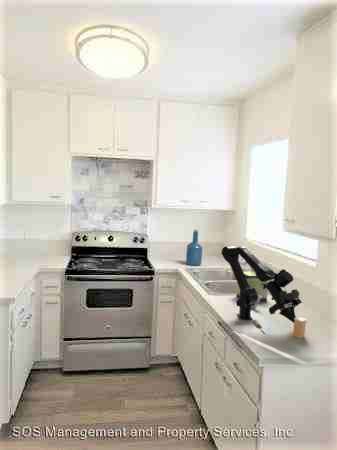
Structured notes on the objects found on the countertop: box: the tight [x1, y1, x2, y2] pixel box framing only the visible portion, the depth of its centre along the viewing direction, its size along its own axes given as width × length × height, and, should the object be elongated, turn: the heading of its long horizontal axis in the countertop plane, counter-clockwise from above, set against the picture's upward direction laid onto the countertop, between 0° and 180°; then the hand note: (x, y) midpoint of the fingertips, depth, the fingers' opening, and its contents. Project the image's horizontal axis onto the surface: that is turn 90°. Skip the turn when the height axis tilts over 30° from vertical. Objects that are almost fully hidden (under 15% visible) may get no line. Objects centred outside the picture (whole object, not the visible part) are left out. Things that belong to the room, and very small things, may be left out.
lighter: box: [251, 295, 262, 310], centre depth 201 cm, size 7×2×8 cm, turn 55°
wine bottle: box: [185, 229, 203, 267], centre depth 308 cm, size 14×13×30 cm
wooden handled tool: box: [251, 319, 266, 335], centre depth 170 cm, size 14×2×2 cm, turn 5°
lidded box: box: [292, 316, 307, 339], centre depth 162 cm, size 4×4×8 cm
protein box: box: [236, 271, 270, 302], centre depth 220 cm, size 10×16×16 cm
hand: (295, 322), depth 163 cm, fingers closed, pressing on lidded box
